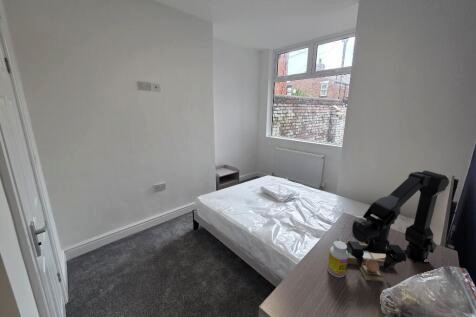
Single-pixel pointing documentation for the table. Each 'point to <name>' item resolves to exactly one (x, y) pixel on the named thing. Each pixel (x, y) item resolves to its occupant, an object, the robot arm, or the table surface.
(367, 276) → the grey framed beige square
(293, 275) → the table surface
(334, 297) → the table surface
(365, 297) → the table surface
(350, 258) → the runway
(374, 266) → the ball
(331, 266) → the supplement bottle
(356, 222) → the end cap
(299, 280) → the table surface
